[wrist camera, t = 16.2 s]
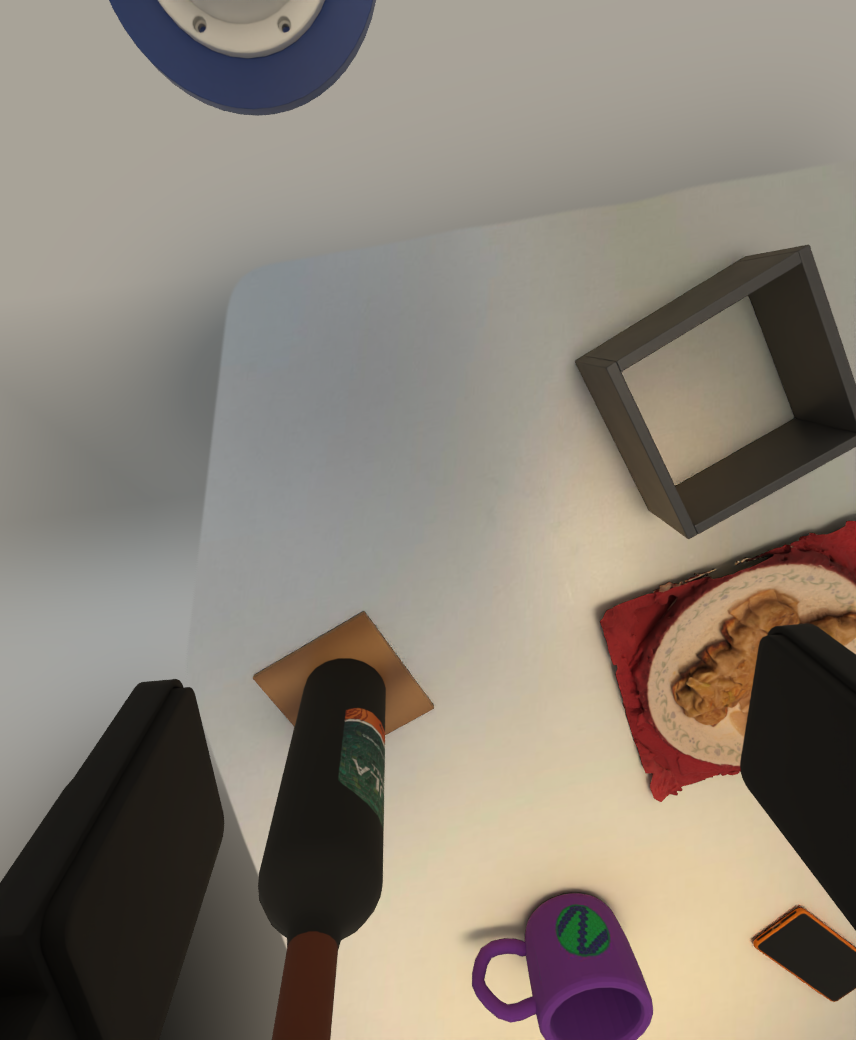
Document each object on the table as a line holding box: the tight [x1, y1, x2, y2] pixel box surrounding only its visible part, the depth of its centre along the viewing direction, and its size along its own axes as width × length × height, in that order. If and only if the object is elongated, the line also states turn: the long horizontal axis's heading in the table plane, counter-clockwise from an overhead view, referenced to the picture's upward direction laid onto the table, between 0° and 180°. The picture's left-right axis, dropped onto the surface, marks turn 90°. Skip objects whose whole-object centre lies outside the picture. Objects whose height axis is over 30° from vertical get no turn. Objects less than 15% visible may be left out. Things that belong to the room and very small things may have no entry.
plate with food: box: [600, 521, 856, 802], centre depth 54 cm, size 24×26×3 cm
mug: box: [472, 893, 653, 1040], centre depth 60 cm, size 17×11×10 cm, turn 94°
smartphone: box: [753, 908, 856, 1002], centre depth 69 cm, size 8×17×1 cm, turn 49°
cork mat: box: [253, 611, 434, 735], centre depth 53 cm, size 12×12×1 cm
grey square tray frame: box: [575, 245, 856, 539], centre depth 43 cm, size 15×15×7 cm
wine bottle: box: [258, 658, 386, 1040], centre depth 39 cm, size 8×8×30 cm
